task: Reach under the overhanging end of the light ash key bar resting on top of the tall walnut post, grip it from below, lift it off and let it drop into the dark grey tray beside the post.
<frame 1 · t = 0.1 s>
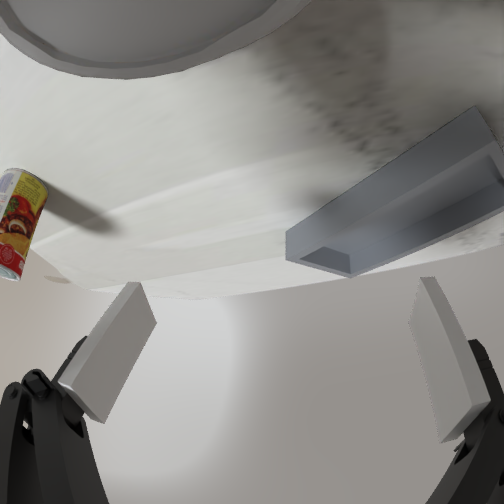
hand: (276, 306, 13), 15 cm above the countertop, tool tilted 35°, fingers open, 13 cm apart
tray: (398, 200, 30), on the countertop
canned food: (25, 184, 29), on the countertop
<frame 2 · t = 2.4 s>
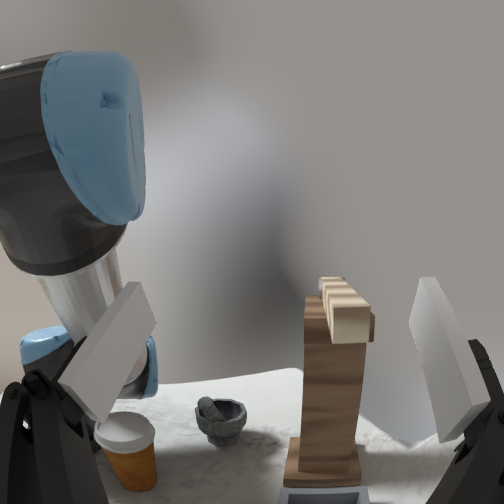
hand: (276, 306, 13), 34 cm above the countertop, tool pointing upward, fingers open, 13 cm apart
disposable coffee cup: (138, 480, 33), on the countertop
mortar and pestle: (221, 440, 48), on the countertop
post stand: (321, 464, 39), on the countertop
key bar: (337, 311, 34), point 29 cm above the countertop, touching post stand
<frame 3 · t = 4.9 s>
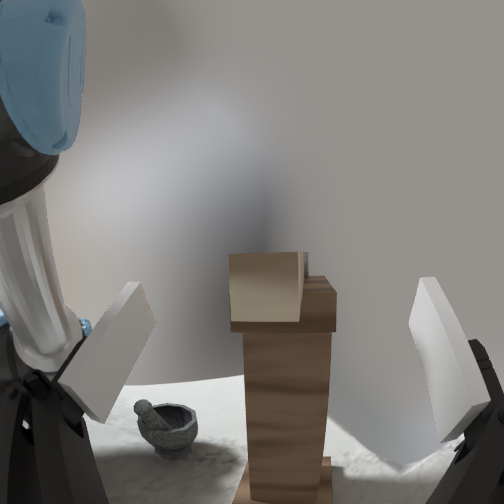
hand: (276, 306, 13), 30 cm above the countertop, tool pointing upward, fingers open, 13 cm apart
mortar and pestle: (170, 451, 38), on the countertop
post stand: (285, 491, 29), on the countertop
key bar: (285, 288, 24), point 29 cm above the countertop, touching post stand
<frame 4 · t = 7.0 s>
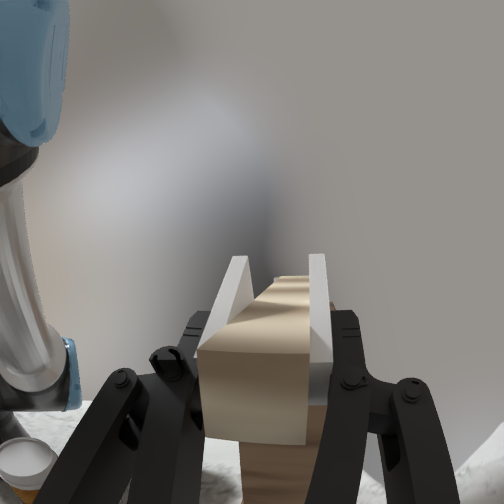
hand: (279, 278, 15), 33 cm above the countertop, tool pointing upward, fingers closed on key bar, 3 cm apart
key bar: (287, 335, 19), point 29 cm above the countertop, touching gripper, post stand
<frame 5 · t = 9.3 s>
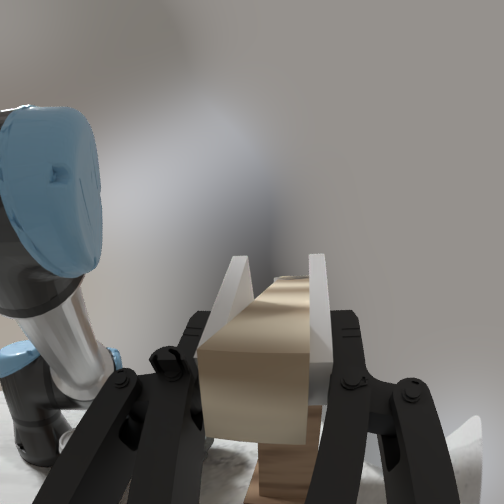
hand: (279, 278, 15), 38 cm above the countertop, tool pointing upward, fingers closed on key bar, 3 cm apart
post stand: (287, 489, 36), on the countertop
key bar: (287, 335, 19), point 33 cm above the countertop, touching gripper
when the fingers open (28 cm above the countertop, at t = 11.8 s): key bar drops 22 cm, resting on tray.
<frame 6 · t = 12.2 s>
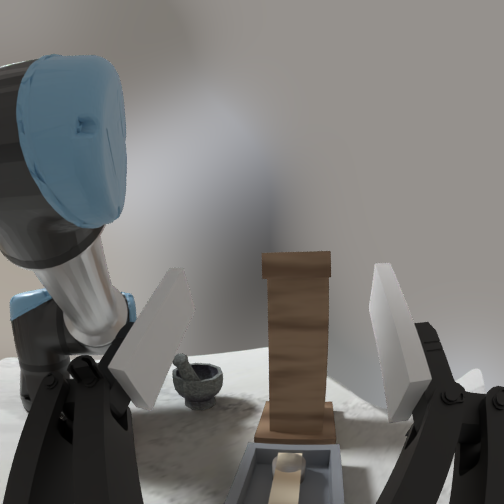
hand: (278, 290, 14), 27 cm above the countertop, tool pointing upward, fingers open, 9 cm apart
mortar and pestle: (198, 404, 51), on the countertop
post stand: (296, 428, 42), on the countertop
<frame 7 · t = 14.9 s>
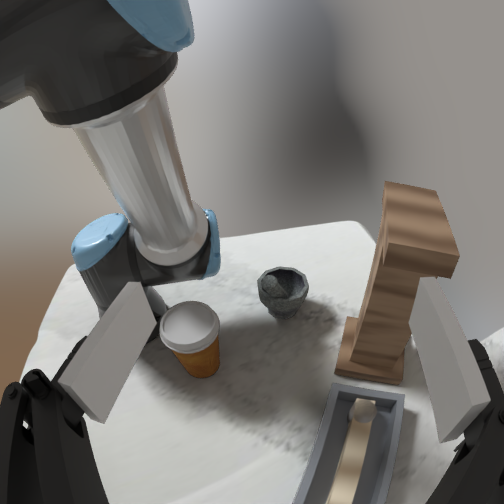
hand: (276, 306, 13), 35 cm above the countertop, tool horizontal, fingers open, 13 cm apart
disposable coffee cup: (202, 364, 50), on the countertop
tray: (344, 477, 31), on the countertop
mortar and pestle: (281, 310, 59), on the countertop
post stand: (371, 352, 48), on the countertop
key bar: (345, 476, 30), point 1 cm above the countertop, touching tray
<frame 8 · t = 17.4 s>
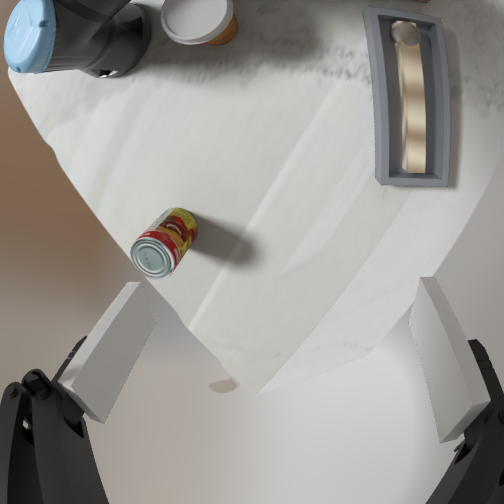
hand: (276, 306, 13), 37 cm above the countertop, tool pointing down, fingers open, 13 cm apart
disposable coffee cup: (218, 28, 35), on the countertop
tray: (407, 96, 36), on the countertop
canned food: (178, 226, 55), on the countertop
key bar: (408, 95, 35), point 1 cm above the countertop, touching tray
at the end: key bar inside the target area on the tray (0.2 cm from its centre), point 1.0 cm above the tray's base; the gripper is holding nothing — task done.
